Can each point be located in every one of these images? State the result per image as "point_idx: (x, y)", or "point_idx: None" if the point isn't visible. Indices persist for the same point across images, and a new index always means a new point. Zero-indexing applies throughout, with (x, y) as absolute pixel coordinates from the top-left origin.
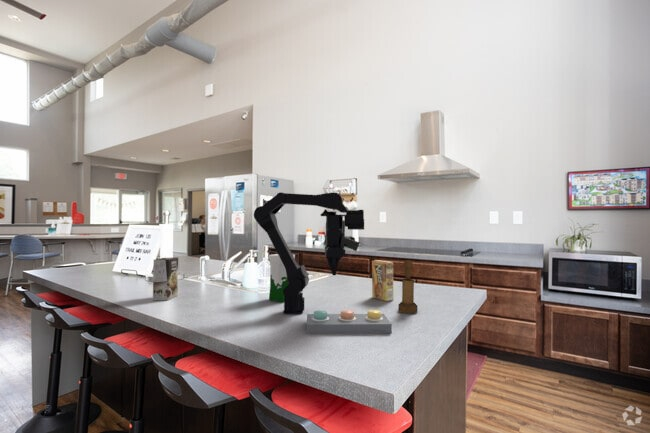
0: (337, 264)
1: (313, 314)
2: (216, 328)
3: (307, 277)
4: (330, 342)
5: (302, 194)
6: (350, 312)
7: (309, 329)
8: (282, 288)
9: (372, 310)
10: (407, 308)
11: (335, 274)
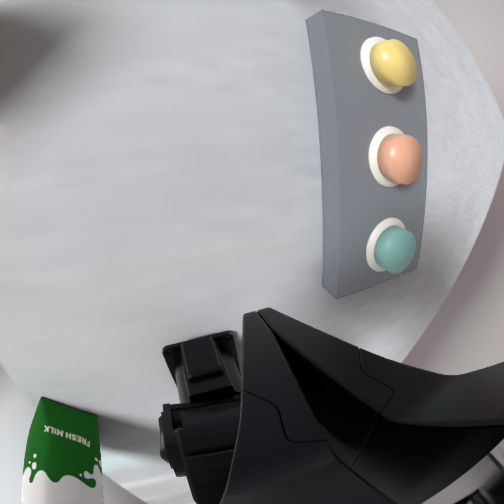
0: (379, 363)
1: (342, 278)
2: None
3: (212, 445)
4: (442, 198)
5: None
6: (412, 149)
7: None
8: (92, 452)
9: (387, 61)
10: None
11: (272, 313)
